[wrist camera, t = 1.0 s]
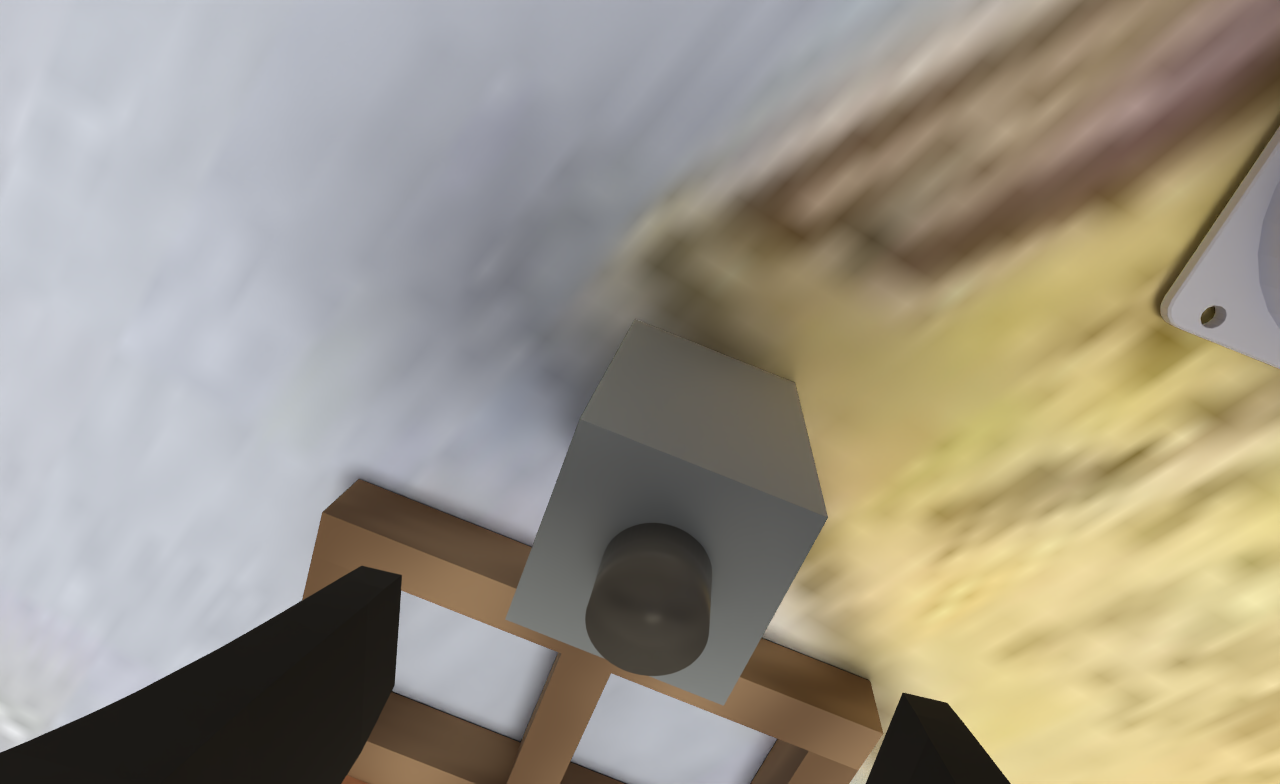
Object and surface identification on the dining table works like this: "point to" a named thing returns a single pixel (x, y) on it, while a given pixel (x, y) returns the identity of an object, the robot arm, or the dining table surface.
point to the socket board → (560, 667)
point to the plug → (675, 516)
